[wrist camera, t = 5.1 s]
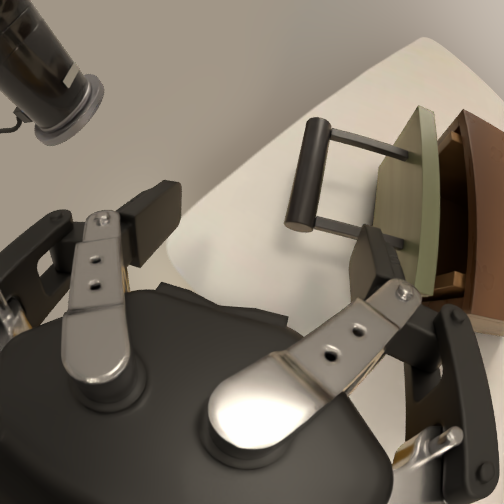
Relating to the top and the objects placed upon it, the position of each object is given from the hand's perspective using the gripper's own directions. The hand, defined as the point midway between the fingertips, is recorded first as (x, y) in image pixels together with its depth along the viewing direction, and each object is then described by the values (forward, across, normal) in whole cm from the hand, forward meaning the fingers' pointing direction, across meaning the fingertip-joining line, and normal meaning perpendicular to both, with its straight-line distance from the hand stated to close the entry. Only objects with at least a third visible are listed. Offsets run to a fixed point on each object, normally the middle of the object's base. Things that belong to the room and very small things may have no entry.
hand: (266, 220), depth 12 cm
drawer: (+10, -11, +4) cm, 15 cm away
